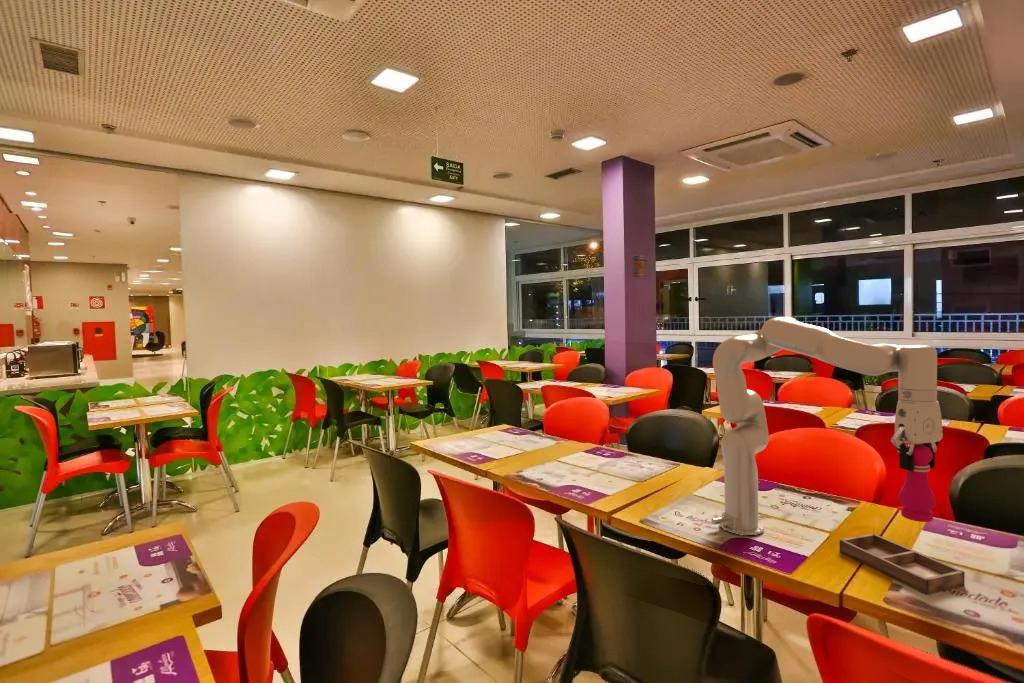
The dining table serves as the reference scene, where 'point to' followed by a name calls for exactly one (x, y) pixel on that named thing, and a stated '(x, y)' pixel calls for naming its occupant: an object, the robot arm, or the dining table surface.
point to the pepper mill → (918, 488)
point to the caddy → (903, 564)
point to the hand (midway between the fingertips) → (917, 467)
